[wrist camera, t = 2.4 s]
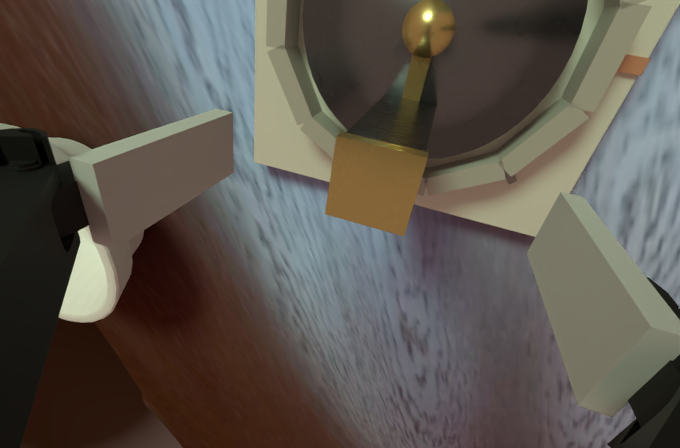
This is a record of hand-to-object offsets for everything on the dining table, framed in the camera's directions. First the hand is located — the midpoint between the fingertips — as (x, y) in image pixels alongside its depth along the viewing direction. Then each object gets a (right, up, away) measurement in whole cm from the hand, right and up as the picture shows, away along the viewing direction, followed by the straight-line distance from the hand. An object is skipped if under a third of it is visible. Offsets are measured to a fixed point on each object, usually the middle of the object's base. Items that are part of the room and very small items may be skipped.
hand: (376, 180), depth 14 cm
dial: (+4, +9, +5) cm, 11 cm away
